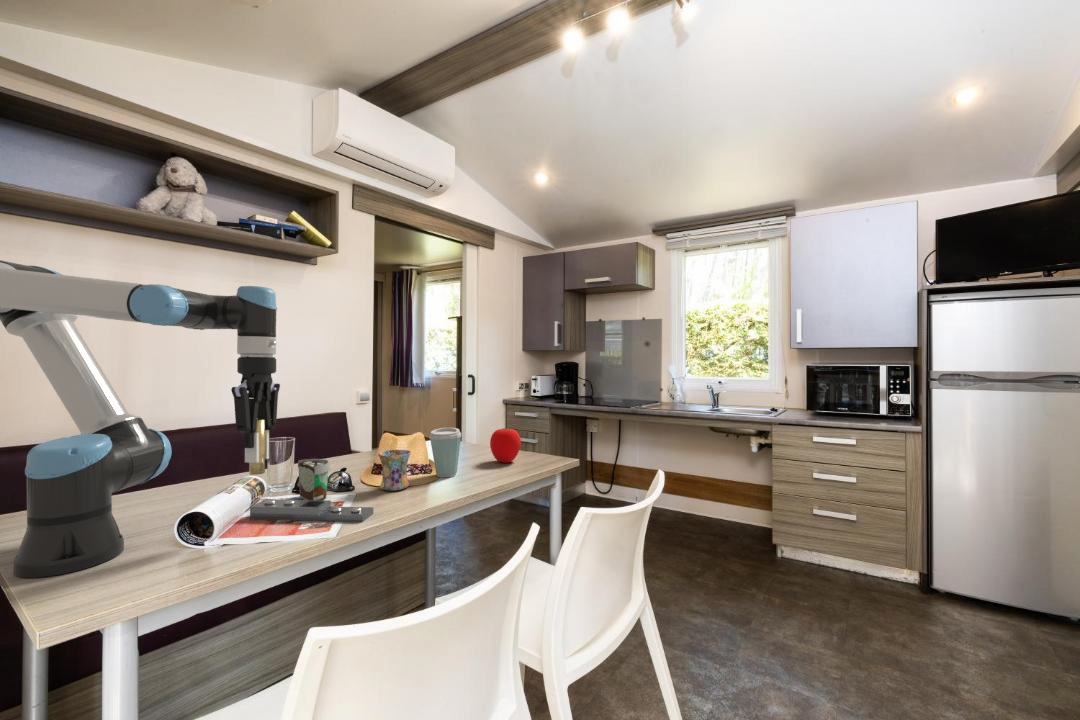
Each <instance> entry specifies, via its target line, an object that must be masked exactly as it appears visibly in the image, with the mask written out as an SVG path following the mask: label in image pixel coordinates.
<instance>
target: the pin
mask: <svg viewBox="0 0 1080 720" xmlns="http://www.w3.org/2000/svg"><path fill="white" fill-rule="evenodd" d="M255 433H259V462H257V463H248V464H249V466H248V467H249V468H248V470H249V473H248V474H249V475H252V476H255V475H262V474H265V473H266V469H265V468H266V463H265V462H266V459H265V419H257V426H256V432H255Z"/></svg>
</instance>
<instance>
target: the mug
mask: <svg viewBox="0 0 1080 720" xmlns="http://www.w3.org/2000/svg"><path fill="white" fill-rule="evenodd" d="M411 453H412V452H411V450H408V449H389V450H384V451H380V452H378V453H377V454H378V457H379V460H380V463H381V467H382V479H381V482H380V484H379V488H380V489H381V490H383V491H391V492H392V491H402V490H405V489H406V488H408V487H409V486H410V481H409V479H408V474H407V466H408V462H409V458H410V456H411Z"/></svg>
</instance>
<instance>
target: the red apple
mask: <svg viewBox="0 0 1080 720" xmlns="http://www.w3.org/2000/svg"><path fill="white" fill-rule="evenodd" d="M489 440H490V441H489V448H490V451H491V453H492V456H493V458H494V459H496V461H498V462H499V463H503V464H509V463H511V462H513V461H514V460H515V459H516V457H517V456H518V454H519V452H520V449H521V445H522V444H521V443H522V439H521V436H520V434H519V433H518V431H517V430H516V429H514V428H509V427H507V426H505V428H499V429H496V430H494V432H493V433H492V434H491V436H490V439H489Z"/></svg>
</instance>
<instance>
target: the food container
mask: <svg viewBox="0 0 1080 720" xmlns="http://www.w3.org/2000/svg"><path fill="white" fill-rule="evenodd" d="M297 468H298V483H299V484H298V485H299V497H300V498H302V499H303V500H326V499H327V495H328V494H327V493H328V479H329V471H330V470H331V469H332V467H331V463H330V462H329V460H327V459H322V458H310V459H308V458H307V459H300V460H298V462H297Z"/></svg>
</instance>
